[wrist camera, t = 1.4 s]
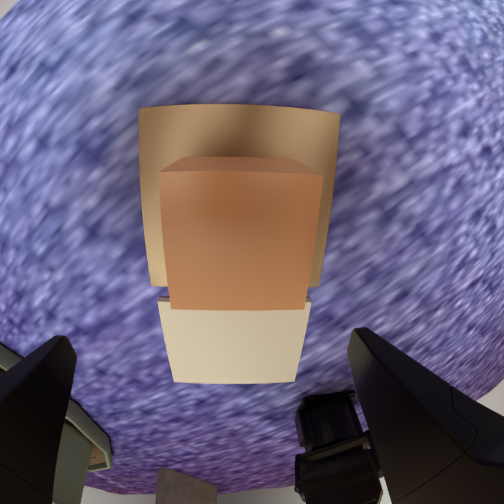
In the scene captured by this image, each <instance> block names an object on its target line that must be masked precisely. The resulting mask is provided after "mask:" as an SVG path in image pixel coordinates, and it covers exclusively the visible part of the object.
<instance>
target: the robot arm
mask: <svg viewBox="0 0 504 504" xmlns="http://www.w3.org/2000/svg"><path fill="white" fill-rule="evenodd" d="M347 352H348V358H349V362H350V366H351V370H352V374H353V379H354V383H355V387H356V392H357V396H358V399H359V402H360V405H361V408H362V410H363V413H364V416H365V419H366V422H367V425H368V428H369V430H366V431H365V432H363V430H362V427H361V424H360V421H359V419H358V416H357V413H356V410H355V408H354V405H353V400H354V398H355V396H356V392H355V391H349V392H343V393H336V394H329V395H321V396H312V397H306V398H304V400H303V402H302V405H301V409H300V410H299V411H298V413H297V416H296V419H295V424H296V429H297V434H298V440H299V445H300V447H305V451H306V453H303V454H297V455H295V459H296V460H295V488H294V489H295V492H297V493H299V495H300V497H301V499H302V500H303V501H304V502H306V504H380V501H381V498H382V495H383V490H382V487H381V483H380V480H379V478H382V477H384V478H385V481H386V485H387V488H388V492H389V495H390V498H391V502H392V504H504V416H502V415H500V414H498V413H496V412H494V411H493V410H491V409H489V408H487V407H485V406H483V405H482V404H480V403H478V402H476V401H475V400H473V399H471V398H470V397H468V396H467V395H465V394H464V393H462V392H461V391H459V390H458V389H456V388H455V387H453V386H450V384H449V383H447V382H446V381H444V380H443V379H442V378H440V377H439V376H437V375H436V374H434V373H433V372H431V371H430V370H428V369H427V368H426V367H424V366H423V365H421V364H420V363H418V362H417V361H415V360H414V359H412V358H411V357H409V356H408V355H407V354H405V353H404V352H402V351H401V350H399V349H398V348H396V347H395V346H393V345H392V344H390V343H389V342H388V341H386V340H385V339H383V338H382V337H380V336H379V335H377V334H376V333H374V332H373V331H371V330H370V329H369V328H367V327H361V328H355V329H353V331H352V333H351V337H350V341H349V345H348V350H347ZM76 362H77V355H76V352H75V351H74V349H73V347H72V345H71V343H70V341H69V339H68V338H67V337H66V336H62V335H56V336H54V337H53V338H51V339H50V340H48V341H47V342H45V343H44V344H43V345H41V346H40V347H38V348H37V349H36V350H34V351H33V352H32V353H30V354H29V355H27V356H26V357H25V358H23V359H22V360H21V361H19V362H18V363H16V364H15V365H14V366H12V367H11V368H10V369H8V370H7V371H6V372H4V373H3V374H2V375H0V504H52V502H53V489H54V480H55V472H56V465H57V458H58V452H59V446H60V441H61V436H62V431H63V426H64V422H65V417H66V413H67V409H68V405H69V400H70V396H71V390H72V384H73V378H74V373H75V367H76ZM369 447H370V449H368V448H369Z"/></svg>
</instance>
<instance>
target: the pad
mask: <svg viewBox="0 0 504 504" xmlns="http://www.w3.org/2000/svg"><path fill="white" fill-rule="evenodd" d="M158 307H159V313H160V318H161V324H162V329H163V334H164V339H165V344H166V349H167V353H168V358H169V362H170V367H171V371H172V375H173V379H174V382H184V383H207V384H256V383H279V382H294V381H295V377H296V373H297V369H298V364H299V360H300V356H301V351H302V347H303V342H304V337H305V333H306V328H307V323H308V318H309V313H310V308H311V300H310V298H306V303H305V309H304V310H263V311H221V310H178V309H171V306H170V299H169V298H166V297H159V299H158Z"/></svg>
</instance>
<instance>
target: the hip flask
mask: <svg viewBox="0 0 504 504" xmlns="http://www.w3.org/2000/svg"><path fill="white" fill-rule="evenodd" d="M155 504H217V487H216V486H214V485H212V484H210V483H207V482H205V481H202V480H199V479H197V478H194V477H191V476H188V475H186V474H183V473H180V472H177V471H174V470H171V469H166V468H160V469H159V473H158V482H157V492H156V503H155Z"/></svg>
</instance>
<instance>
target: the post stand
mask: <svg viewBox="0 0 504 504" xmlns="http://www.w3.org/2000/svg"><path fill="white" fill-rule="evenodd" d="M339 126H340V114H338V113H332V112H325V111H318V110H310V109H301V108H291V107H280V106H266V105H246V104H191V105H171V106H158V107H147V108H139V169H140V188H141V203H142V215H143V226H144V235H145V244H146V252H147V260H148V267H149V274H150V281H151V286H168V284H167V275H166V266H165V257H164V247H163V236H162V223H161V209H160V191H159V172H160V171H161V170H163V169H164V168H166V167H167V166H169V165H170V164H172V163H174V162H175V161H177V160H178V159H180V158H182V157H258V158H278V159H294V160H297V161H298V162H300V163H302V164H304V165H306V166H307V167H309V168H311V169H313V170H314V171H316V172H318V173H319V174H321V175H323V183H322V192H321V201H320V209H319V217H318V225H317V233H316V240H315V247H314V254H313V261H312V267H311V274H310V280H309V286H308V287H319V282H320V276H321V271H322V265H323V259H324V253H325V247H326V240H327V234H328V227H329V220H330V213H331V205H332V197H333V189H334V180H335V171H336V161H337V151H338V139H339Z"/></svg>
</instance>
